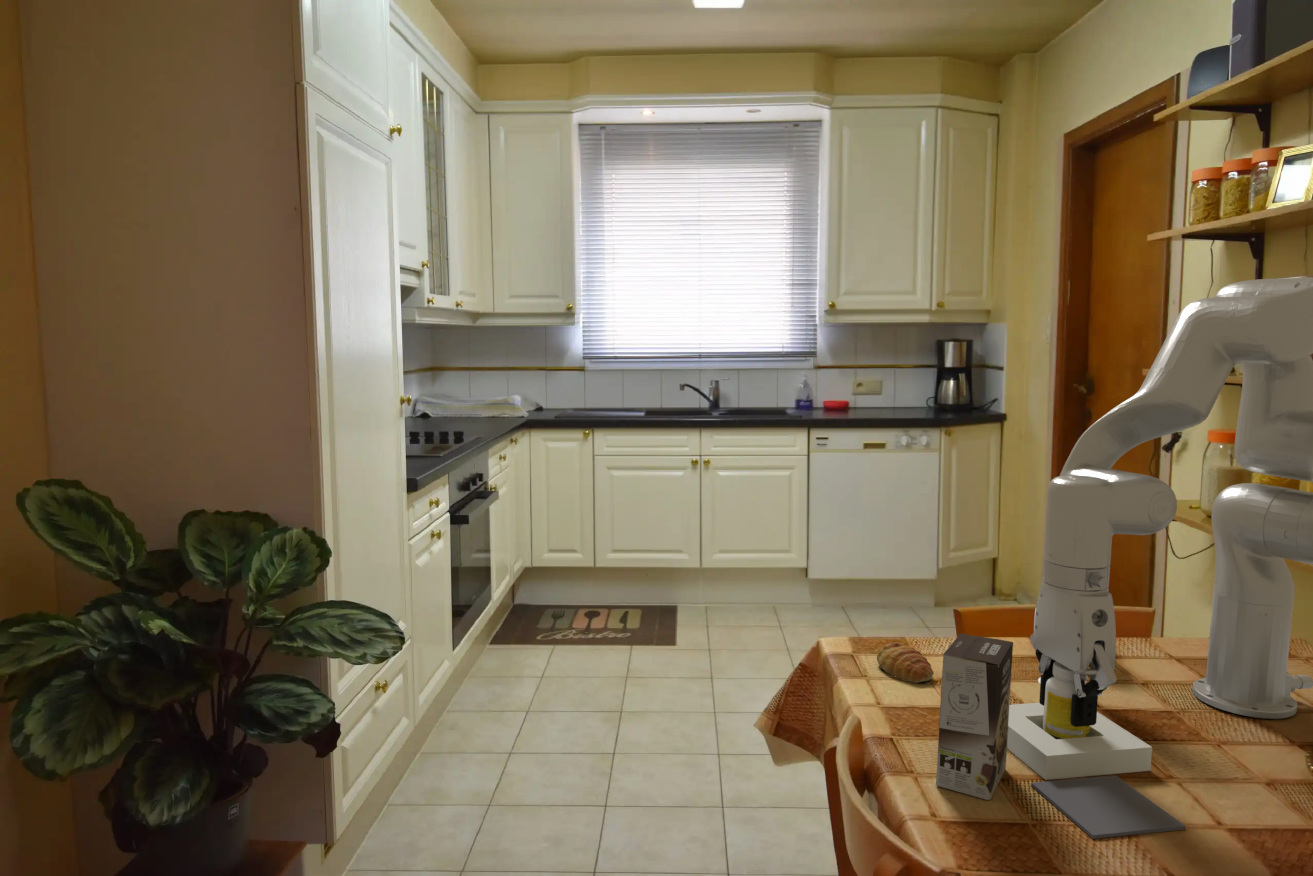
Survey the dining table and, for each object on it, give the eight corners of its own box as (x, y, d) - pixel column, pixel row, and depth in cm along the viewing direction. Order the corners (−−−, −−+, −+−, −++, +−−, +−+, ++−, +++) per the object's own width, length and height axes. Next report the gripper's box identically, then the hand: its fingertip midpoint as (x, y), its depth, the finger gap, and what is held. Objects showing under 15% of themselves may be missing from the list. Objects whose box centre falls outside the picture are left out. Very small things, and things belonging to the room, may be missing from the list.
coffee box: (992, 802, 100) (999, 664, 98) (934, 786, 104) (940, 653, 102) (1008, 769, 108) (1015, 640, 106) (953, 755, 111) (960, 630, 109)
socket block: (1076, 720, 121) (1078, 699, 121) (1150, 770, 108) (1152, 747, 107) (982, 728, 119) (983, 706, 119) (1045, 780, 105) (1046, 756, 105)
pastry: (944, 682, 135) (945, 658, 135) (907, 689, 133) (908, 664, 132) (906, 660, 144) (907, 638, 143) (871, 666, 141) (871, 643, 141)
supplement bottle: (1094, 751, 110) (1099, 675, 109) (1048, 747, 111) (1052, 672, 110) (1081, 731, 116) (1086, 659, 114) (1037, 728, 117) (1042, 656, 115)
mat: (1115, 778, 106) (1115, 775, 106) (1185, 829, 95) (1185, 825, 95) (1031, 786, 104) (1031, 782, 104) (1092, 838, 93) (1093, 835, 93)
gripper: (1152, 594, 103) (1141, 742, 105) (1058, 556, 120) (1050, 685, 122) (1095, 597, 102) (1085, 748, 104) (1008, 559, 118) (1001, 690, 121)
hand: (1066, 713), depth 113 cm, fingers closed on supplement bottle, 5 cm apart
